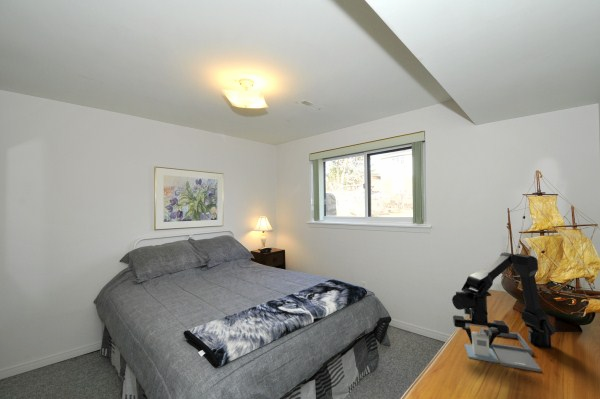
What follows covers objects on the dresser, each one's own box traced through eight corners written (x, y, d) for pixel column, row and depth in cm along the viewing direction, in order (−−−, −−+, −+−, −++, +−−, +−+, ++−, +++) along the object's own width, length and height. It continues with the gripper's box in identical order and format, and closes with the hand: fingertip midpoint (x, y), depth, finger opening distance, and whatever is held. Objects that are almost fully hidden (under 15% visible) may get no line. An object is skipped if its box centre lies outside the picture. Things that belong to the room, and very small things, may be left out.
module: (486, 350, 112) (485, 333, 112) (489, 357, 107) (489, 339, 107) (472, 347, 114) (471, 331, 114) (474, 354, 109) (474, 337, 109)
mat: (491, 349, 113) (491, 348, 113) (498, 362, 104) (498, 361, 104) (464, 345, 117) (464, 344, 117) (468, 357, 108) (468, 356, 108)
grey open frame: (519, 337, 122) (518, 333, 122) (546, 372, 97) (546, 367, 97) (480, 332, 128) (480, 328, 128) (496, 364, 103) (496, 359, 103)
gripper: (500, 302, 114) (501, 339, 114) (450, 297, 122) (451, 332, 121) (508, 312, 104) (510, 353, 104) (454, 306, 111) (455, 344, 111)
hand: (480, 344), depth 110 cm, fingers open, 6 cm apart
